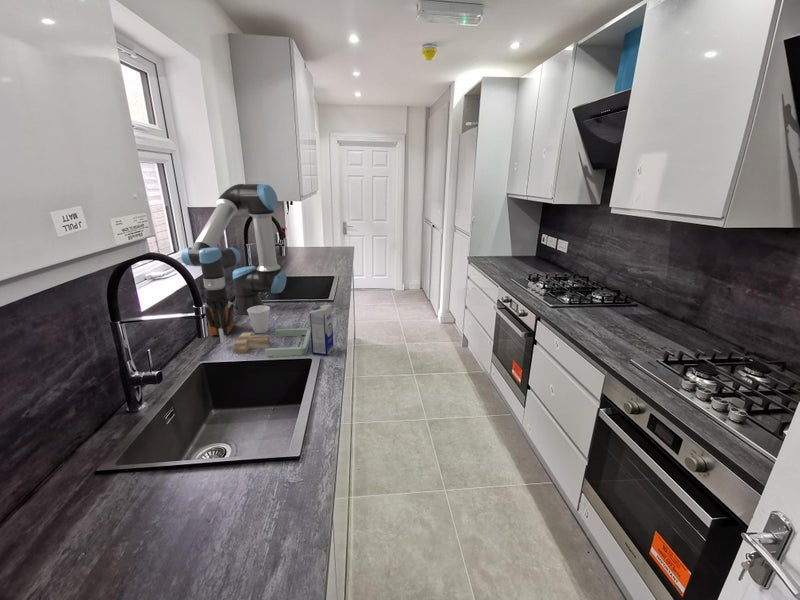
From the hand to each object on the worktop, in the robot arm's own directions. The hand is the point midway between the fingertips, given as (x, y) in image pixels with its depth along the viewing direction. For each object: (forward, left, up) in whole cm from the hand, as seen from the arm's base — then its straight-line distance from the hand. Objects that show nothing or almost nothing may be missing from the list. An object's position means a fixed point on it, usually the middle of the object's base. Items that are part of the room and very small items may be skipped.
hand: (223, 341), depth 148 cm
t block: (0, +12, -3) cm, 12 cm away
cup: (-16, +11, -3) cm, 20 cm away
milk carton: (+8, +41, -3) cm, 42 cm away
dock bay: (0, +26, -3) cm, 26 cm away
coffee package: (-18, -6, -3) cm, 19 cm away
